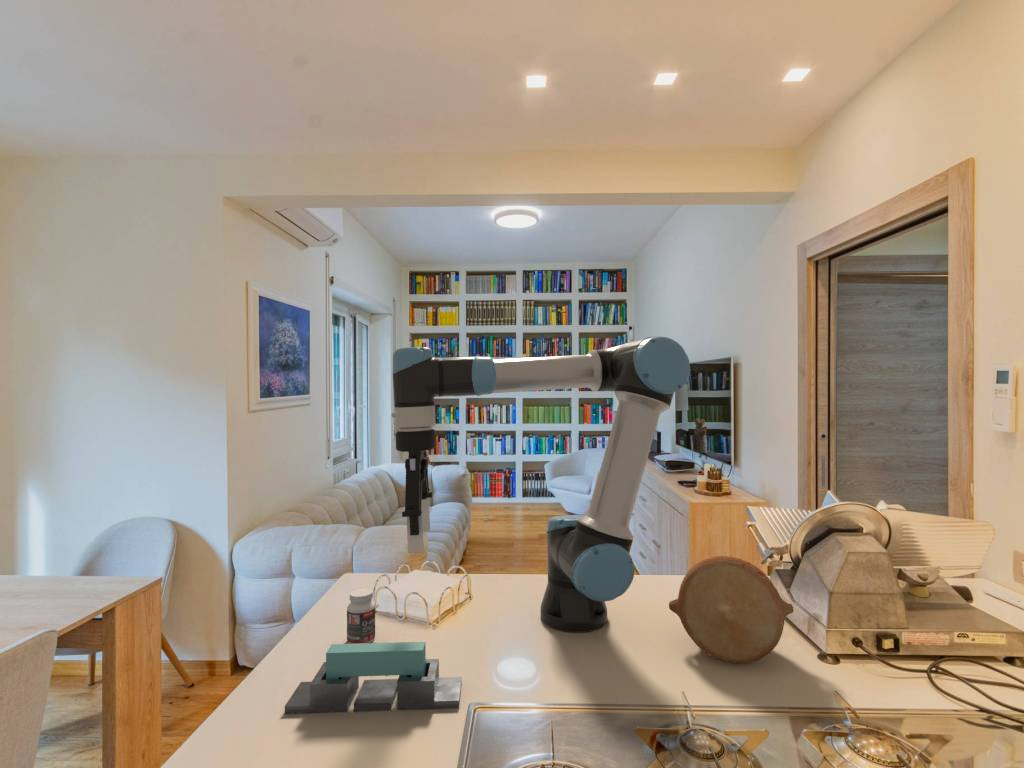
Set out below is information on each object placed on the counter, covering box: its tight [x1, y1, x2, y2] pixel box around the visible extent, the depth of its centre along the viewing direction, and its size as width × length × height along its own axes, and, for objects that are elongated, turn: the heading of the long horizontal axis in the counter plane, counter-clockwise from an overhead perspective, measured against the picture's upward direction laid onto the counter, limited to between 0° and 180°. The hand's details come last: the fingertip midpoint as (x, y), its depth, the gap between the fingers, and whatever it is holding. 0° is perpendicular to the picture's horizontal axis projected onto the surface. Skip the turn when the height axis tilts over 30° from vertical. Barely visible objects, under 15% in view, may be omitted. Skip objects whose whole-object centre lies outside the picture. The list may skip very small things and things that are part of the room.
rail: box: [284, 658, 463, 715], centre depth 87 cm, size 28×7×4 cm, turn 92°
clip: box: [325, 641, 427, 680], centre depth 87 cm, size 16×3×8 cm, turn 92°
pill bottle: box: [346, 587, 376, 644], centre depth 107 cm, size 6×6×10 cm
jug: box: [668, 555, 795, 665], centre depth 106 cm, size 20×19×30 cm
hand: (420, 541), depth 97 cm, fingers open, 13 cm apart
